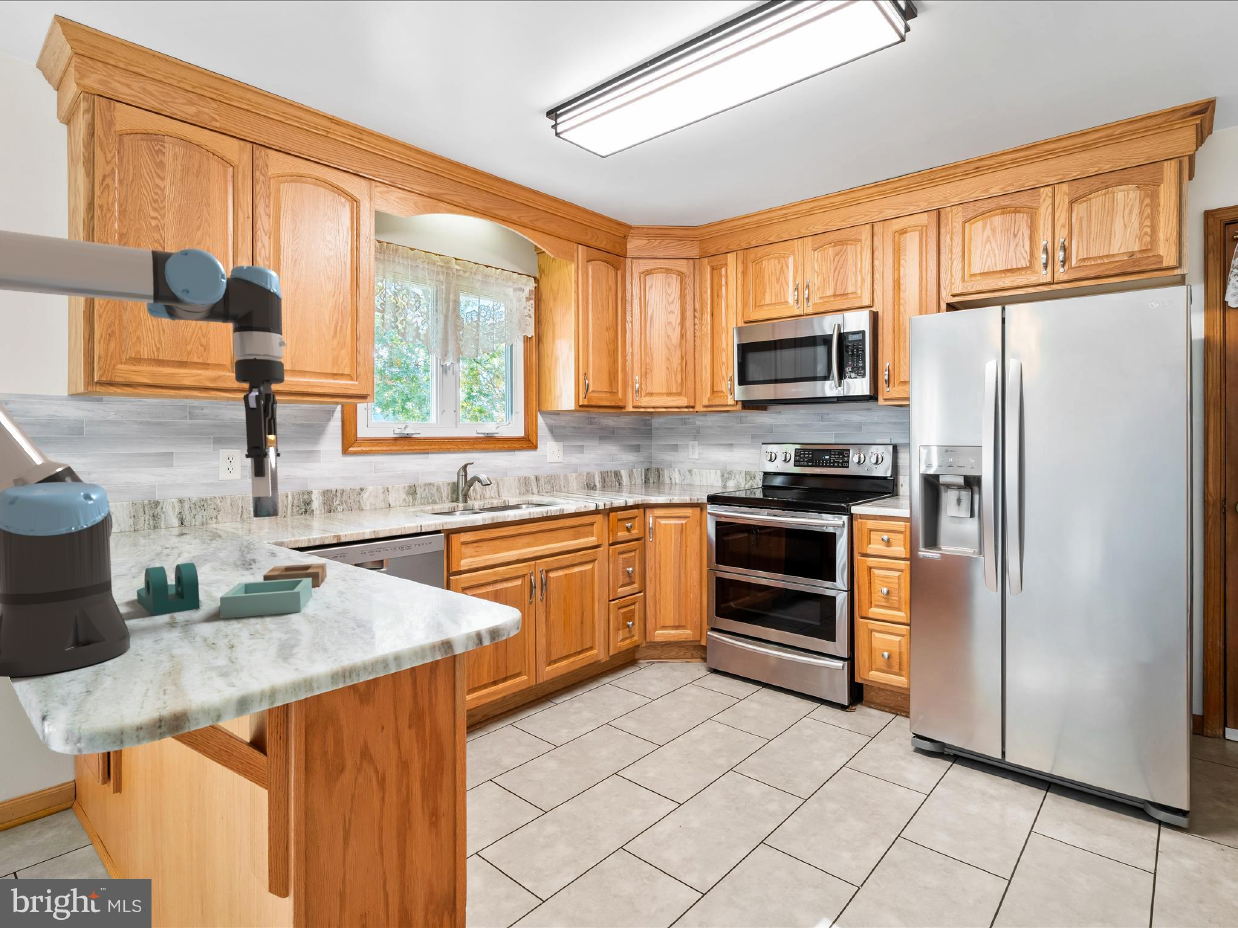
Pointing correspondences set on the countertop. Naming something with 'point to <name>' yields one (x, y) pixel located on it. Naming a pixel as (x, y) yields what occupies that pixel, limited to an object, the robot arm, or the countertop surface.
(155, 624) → the countertop surface
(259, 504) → the hitch pin
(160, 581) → the bracket
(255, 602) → the tray
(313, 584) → the collar block
